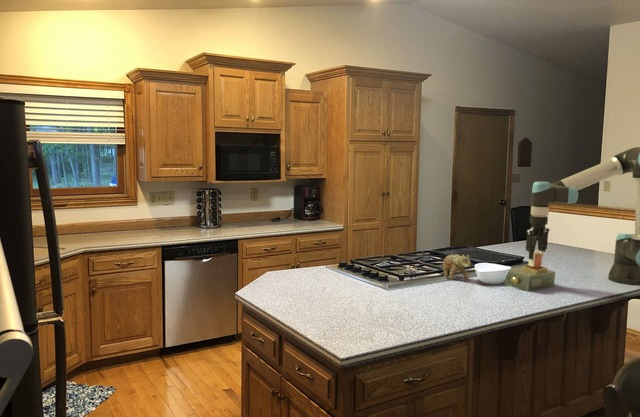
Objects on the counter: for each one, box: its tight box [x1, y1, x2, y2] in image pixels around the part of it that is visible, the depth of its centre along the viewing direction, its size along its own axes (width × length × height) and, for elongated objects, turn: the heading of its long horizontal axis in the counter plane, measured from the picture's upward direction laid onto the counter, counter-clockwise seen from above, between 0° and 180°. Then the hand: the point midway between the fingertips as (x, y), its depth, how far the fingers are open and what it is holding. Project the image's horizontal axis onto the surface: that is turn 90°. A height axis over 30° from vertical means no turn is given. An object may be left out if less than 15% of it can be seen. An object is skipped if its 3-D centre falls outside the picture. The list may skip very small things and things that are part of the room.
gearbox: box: [504, 264, 556, 293], centre depth 245 cm, size 20×13×8 cm, turn 121°
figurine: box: [442, 253, 472, 282], centre depth 254 cm, size 10×16×16 cm, turn 14°
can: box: [529, 250, 541, 269], centre depth 246 cm, size 5×5×9 cm
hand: (535, 265), depth 247 cm, fingers closed on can, 4 cm apart
